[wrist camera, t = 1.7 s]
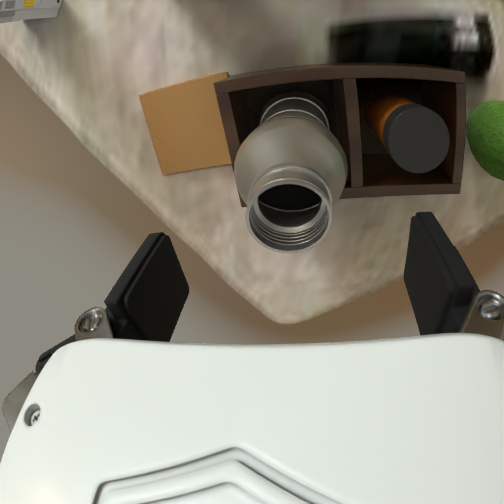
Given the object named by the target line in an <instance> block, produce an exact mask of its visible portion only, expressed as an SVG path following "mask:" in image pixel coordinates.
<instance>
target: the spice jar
mask: <svg viewBox="0 0 504 504" xmlns="http://www.w3.org/2000/svg"><path fill="white" fill-rule="evenodd" d="M363 119H364V122H365V124H366V125H367V127H368V128H369V129H370V130H371V132H372V133H373V134H374V135H375V136H376V137H377V138H378V140H379V141H380V142H381V143H382V144H383V145H384V147H385V148H386V150H387V152H388V153H389V155H390V156H391V157H392V158H393V160H394V161H395V162H396V163H397V164H398V165H399V166H400V167H401V168H403V169H404V170H406V171H409V172H412V173H425V172H428V171H431V170H433V169H435V168H436V167H437V166H438V165H440V164H441V162H442V161H443V160H444V158H445V157H446V155H447V152H448V149H449V143H450V138H449V132H448V128H447V126H446V124H445V122H444V121H443V119H442V118H441V117H440V116H439V115H438V114H437V113H436V112H434V111H432V110H430V109H428V108H427V107H425V106H422V105H419V104H416V103H414V102H412V101H410V100H408V99H406V98H404V97H402V96H400V95H398V94H395V93H393V92H391V91H378V92H375V93H373V94H372V95H370V96H369V97H368V98H367V100H366V101H365V103H364V106H363Z"/></svg>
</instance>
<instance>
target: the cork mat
mask: <svg viewBox="0 0 504 504" xmlns="http://www.w3.org/2000/svg"><path fill="white" fill-rule="evenodd" d="M225 78H228V72H225V73H220V74H215V75H211V76H206V77H202V78H198V79H194V80H190V81H186V82H182V83H179V84H175V85H172V86H168V87H165V88H161V89H158V90H155V91H152V92H148V93H145V94H142V95H140V96H139V97H140V101H141V104H142V108H143V111H144V115H145V118H146V122H147V125H148V128H149V132H150V135H151V138H152V142H153V145H154V148H155V151H156V155H157V158H158V161H159V164H160V167H161V170H162V174H163V175H167V174H173V173H178V172H184V171H189V170H195V169H201V168H207V167H214V166H220V165H227V164H232V163H231V159H230V154H229V150H228V145H227V141H226V137H225V132H224V128H223V124H222V119H221V115H220V111H219V106H218V102H217V98H216V95H217V94H216V93H215V88H214V84H213V83H214V82H217V81H220V80H222V79H225Z"/></svg>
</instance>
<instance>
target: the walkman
mask: <svg viewBox="0 0 504 504" xmlns="http://www.w3.org/2000/svg"><path fill="white" fill-rule="evenodd" d="M61 4H62V0H0V23H6V22H13V21H20V20H22V21H23V20H29V19H40V18H54V17H57V15H58V11H59V8H60V7H61Z"/></svg>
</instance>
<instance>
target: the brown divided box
mask: <svg viewBox="0 0 504 504" xmlns="http://www.w3.org/2000/svg"><path fill="white" fill-rule="evenodd" d="M355 78H400V79H420V80H421V86H422V106H425V107H427V108H428V109H430V110H432V111H434V112H436V113H437V114H438V115H439V116H440V117H441V118H442V119H443V121H444V122H445V124H446V126H447V128H448V132H449V138H450V143H449V149H448V152H447V155H446V157H445V158H444V160H443V161H442V162H441V164H440V165H438V166H437V167H436V168H435V169H433V170H431V171H428V172H425V173H412V172H409V171H406V170H404V169H403V168H401V167H400V166H399V165H398V164H397V163H396V162H395V161H394V160H393V158H392V157H391V156H390V155H389V154H374V155H362V144H361V128H360V115H359V104H358V94H357V84H356V79H355ZM330 79H332V84H333V92H334V100H335V109H336V118H337V128H338V138H339V143H340V144H341V146H342V148H343V150H344V152H345V155H346V160H347V164H348V174H347V179H346V184H345V186H344V189H343V191H342V193H341V195H340V198H339V199H345V198H361V197H379V196H400V195H427V194H460V188H461V179H462V170H463V160H464V147H465V128H466V85H465V72H461V71H457V70H452V69H447V68H442V67H437V66H431V65H423V64H409V63H386V62H353V63H329V64H314V65H303V66H293V67H284V68H277V69H269V70H262V71H256V72H250V73H244V74H239V75H234V76H231V77H228V78H225V79H222V80H220V81H217V82H214V83H213V84H214V88H215V93H216V94H217V95H216V98H217V102H218V106H219V111H220V115H221V119H222V124H223V128H224V132H225V137H226V141H227V145H228V150H229V154H230V159H231V163H232V167H233V172H234V163H235V159H236V155H237V152H238V150H239V148H240V146H241V144H242V143H243V142H244V140H245V139H246V138H247V137H248V136H249V135H250V133H251V132H252V131H254V125H253V120H252V115H251V110H250V105H249V100H248V95H247V90H246V89H250V88H256V87H263V86H270V85H277V84H285V83H294V82H304V81H316V80H330ZM234 176H235V175H234ZM238 193H239V191H238ZM239 197H240V202H241V206H242V207H247V205H246V204H245V202H244V201H243V199H242V198H241V196H240V194H239Z"/></svg>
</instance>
